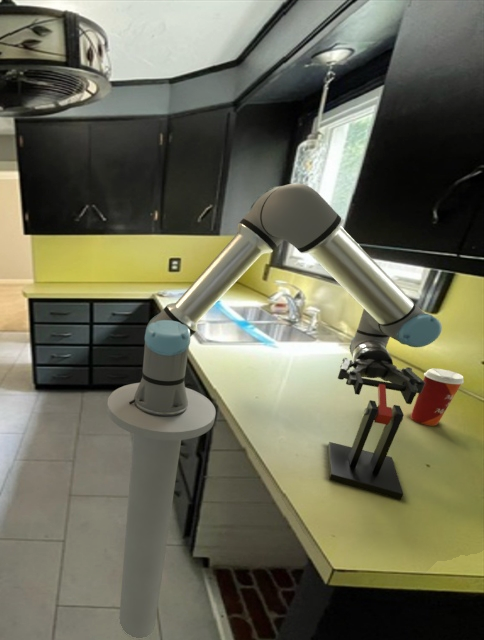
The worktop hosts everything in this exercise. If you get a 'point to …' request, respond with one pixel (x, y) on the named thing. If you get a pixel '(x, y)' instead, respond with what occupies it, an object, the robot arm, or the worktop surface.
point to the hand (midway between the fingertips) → (384, 393)
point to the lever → (383, 398)
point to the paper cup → (435, 395)
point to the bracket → (368, 457)
